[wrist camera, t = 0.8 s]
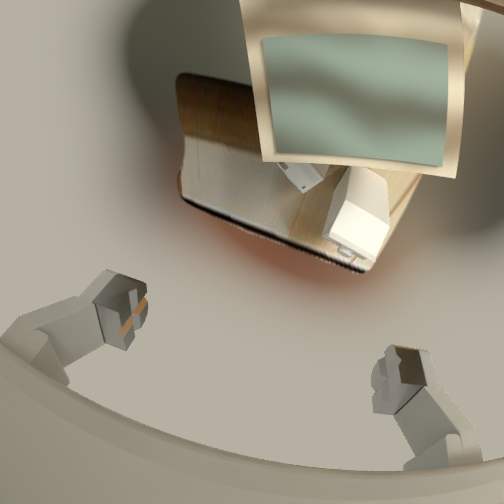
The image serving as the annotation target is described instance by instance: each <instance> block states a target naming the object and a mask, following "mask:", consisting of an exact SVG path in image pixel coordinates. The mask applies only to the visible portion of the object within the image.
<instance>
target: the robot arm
mask: <svg viewBox="0 0 504 504" xmlns="http://www.w3.org/2000/svg"><path fill="white" fill-rule="evenodd" d="M146 293H147V286H146V283H144V282H142V281H139V280H136V279H133V278H131V277H128V276H125V275H122V274H119V273H116V272H113V271H111V270H108V269H106V270H103V271H102V272H101V273H100V274H99V276H98V277H97V278H96V279H95V280H94V281H93V282H92V283H91V284H90V285H89V286H88V287H87V288H86V289H85V291H84V292H83V293H82V294H81V295H80V296H79V297H76V296H74V297H71V298H68V299H65V300H62V301H60V302H57V303H54V304H51V305H49V306H46V307H43V308H41V309H38V310H35V311H32V312H30V313H27V314H24V315H22V316H19V317H18V318H17V319H16V320H15V321H14V323H13V324H12V325H11V326H10V327H9V328H8V329H7V330H6V332H5V333H4V334H3V335H2V336H1V337H0V504H504V457H503V458H499V459H495V460H490V461H485V462H483V459H482V453H481V448H480V441H479V436H478V431H477V430H476V429H475V428H474V426H473V425H472V424H471V422H470V421H469V420H468V419H467V418H466V416H465V415H464V414H463V412H462V411H461V410H460V409H459V407H458V406H457V405H456V404H455V403H454V401H453V400H452V399H451V398H450V396H449V395H448V394H447V393H446V392H445V390H444V389H443V388H439V384H438V380H437V376H436V372H435V368H434V364H433V360H432V357H431V353H430V352H429V351H428V350H422V349H414V348H408V347H403V346H397V345H390V346H389V347H388V348H387V349H386V350H385V357H384V358H382V359H380V360H378V362H377V363H376V364H375V366H374V368H373V371H372V376H371V385H372V387H373V389H374V390H375V391H376V392H375V393H374V395H373V396H372V402H373V413H379V414H388V415H394V418H395V420H396V421H397V423H398V425H399V427H400V429H401V430H402V432H403V434H404V436H405V438H406V439H407V441H408V443H409V445H410V447H411V449H412V450H413V452H414V454H415V456H416V457H414V458H413V459H411V460H409V461H408V462H406V463H405V464H404V466H403V467H404V468H403V469H404V471H353V470H337V469H325V468H315V467H307V466H299V465H293V464H286V463H280V462H274V461H269V460H264V459H258V458H253V457H249V456H245V455H240V454H236V453H232V452H228V451H224V450H220V449H217V448H212V447H209V446H206V445H202V444H199V443H196V442H193V441H189V440H186V439H183V438H180V437H177V436H174V435H171V434H169V433H166V432H163V431H160V430H158V429H155V428H152V427H150V426H147V425H145V424H142V423H140V422H137V421H135V420H133V419H130V418H128V417H125V416H123V415H121V414H119V413H117V412H115V411H112V410H110V409H108V408H106V407H104V406H102V405H100V404H98V403H95V402H94V401H91V400H90V399H88V398H86V397H84V396H82V395H80V394H78V393H77V392H75V391H73V390H71V389H69V388H68V387H67V386H68V384H69V378H68V376H67V374H66V372H65V371H64V369H63V368H64V367H66V366H67V365H69V364H71V363H73V362H74V361H76V360H78V359H79V358H81V357H83V356H85V355H87V354H88V353H90V352H92V351H94V350H95V349H97V348H99V347H100V346H102V345H104V344H105V343H107V344H109V345H112V346H114V347H117V348H119V349H122V350H125V351H127V349H128V348H129V346H130V344H131V343H132V341H133V340H134V338H135V333H134V331H135V330H137V329H139V328H141V327H142V325H143V324H144V322H145V319H146V316H147V313H148V302H147V300H146V299H145V297H144V296H145V294H146Z"/></svg>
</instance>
